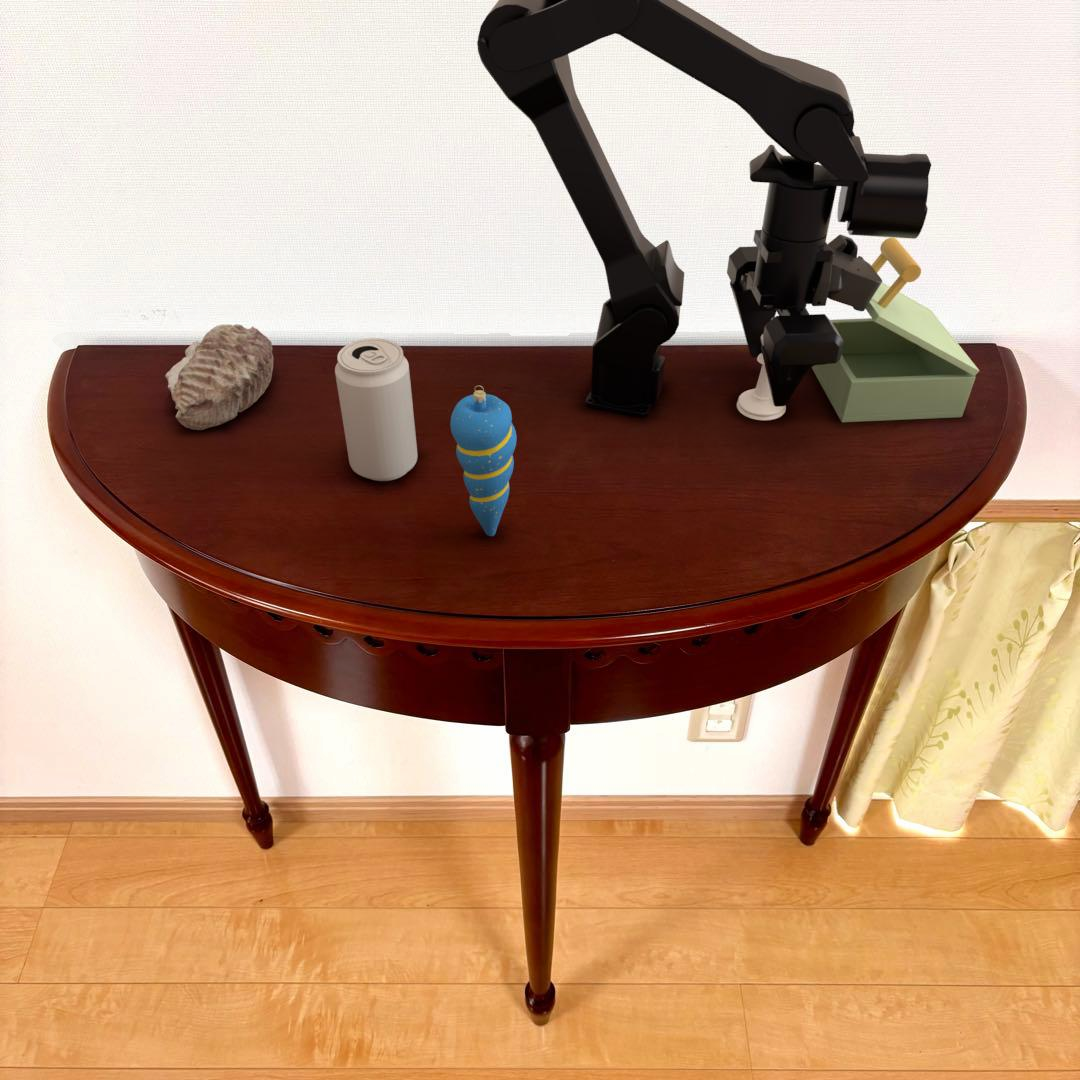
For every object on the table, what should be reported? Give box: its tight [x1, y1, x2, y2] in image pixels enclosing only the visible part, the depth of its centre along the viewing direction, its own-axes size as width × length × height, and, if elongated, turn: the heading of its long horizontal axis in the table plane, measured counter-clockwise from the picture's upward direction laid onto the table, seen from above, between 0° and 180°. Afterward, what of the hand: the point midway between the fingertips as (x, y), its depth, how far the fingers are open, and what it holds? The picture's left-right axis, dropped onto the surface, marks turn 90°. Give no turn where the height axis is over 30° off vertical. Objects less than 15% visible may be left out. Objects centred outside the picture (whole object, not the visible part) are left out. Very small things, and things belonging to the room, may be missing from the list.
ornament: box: [449, 385, 518, 537], centre depth 78 cm, size 5×5×15 cm
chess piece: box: [736, 317, 787, 421], centre depth 95 cm, size 5×5×10 cm
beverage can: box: [334, 337, 419, 482], centre depth 87 cm, size 6×6×12 cm
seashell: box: [164, 323, 274, 431], centre depth 97 cm, size 14×9×10 cm
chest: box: [811, 317, 976, 423], centre depth 99 cm, size 12×12×5 cm
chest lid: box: [865, 237, 980, 377], centre depth 94 cm, size 13×12×6 cm
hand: (767, 380), depth 96 cm, fingers open, 9 cm apart
